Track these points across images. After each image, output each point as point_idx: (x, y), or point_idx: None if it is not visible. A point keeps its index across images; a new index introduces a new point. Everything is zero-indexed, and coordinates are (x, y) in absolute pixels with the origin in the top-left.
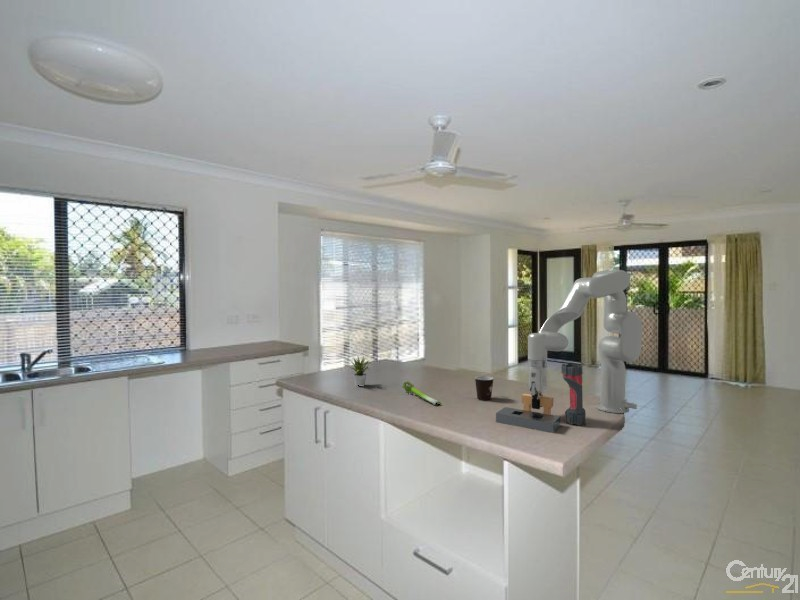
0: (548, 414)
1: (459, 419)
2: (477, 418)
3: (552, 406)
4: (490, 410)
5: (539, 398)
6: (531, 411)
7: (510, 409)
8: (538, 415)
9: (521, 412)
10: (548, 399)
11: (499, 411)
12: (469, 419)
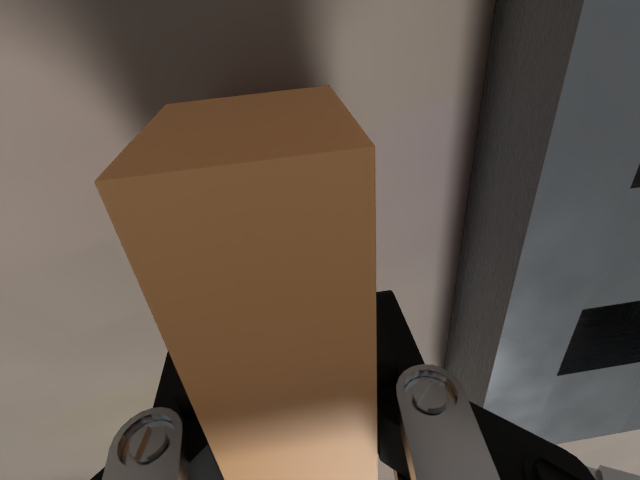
0: (592, 15)
1: (622, 469)
2: (576, 441)
3: (228, 99)
4: (381, 476)
5: (372, 389)
6: (520, 270)
7: (529, 412)
8: (637, 141)
9: (568, 325)
10: (373, 224)
11: (621, 428)
12: (608, 450)
